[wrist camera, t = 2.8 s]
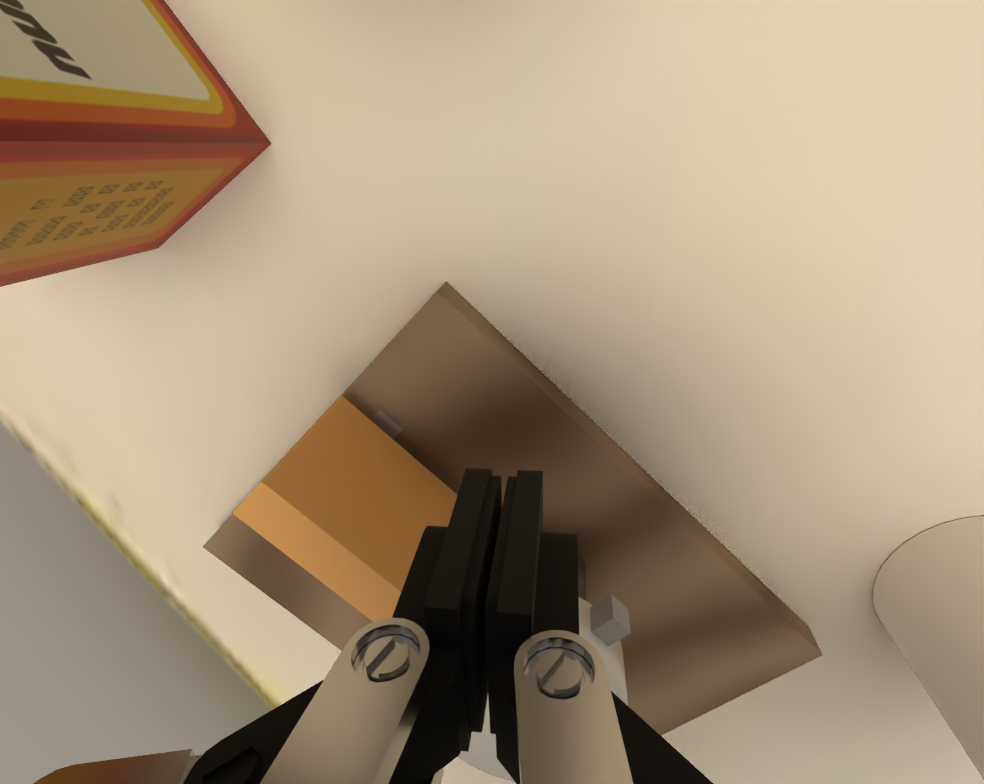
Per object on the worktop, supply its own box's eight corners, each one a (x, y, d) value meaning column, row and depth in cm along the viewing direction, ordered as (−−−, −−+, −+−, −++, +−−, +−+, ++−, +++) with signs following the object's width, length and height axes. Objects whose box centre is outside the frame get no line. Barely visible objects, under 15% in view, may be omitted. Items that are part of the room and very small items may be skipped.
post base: (808, 627, 25) (867, 748, 20) (538, 768, 31) (532, 886, 26) (446, 281, 21) (406, 324, 16) (221, 526, 27) (141, 612, 22)
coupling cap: (667, 581, 22) (698, 722, 17) (522, 672, 25) (508, 816, 20) (396, 335, 19) (327, 408, 14) (271, 471, 22) (176, 574, 17)
